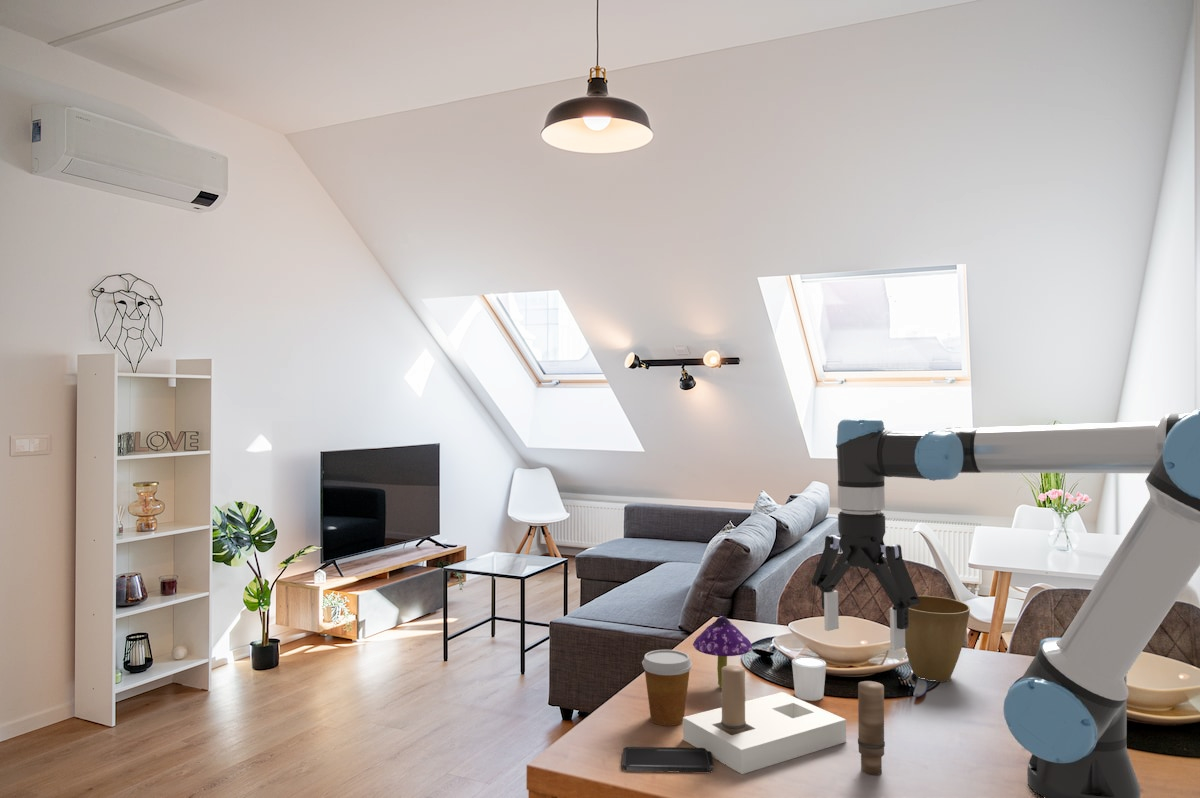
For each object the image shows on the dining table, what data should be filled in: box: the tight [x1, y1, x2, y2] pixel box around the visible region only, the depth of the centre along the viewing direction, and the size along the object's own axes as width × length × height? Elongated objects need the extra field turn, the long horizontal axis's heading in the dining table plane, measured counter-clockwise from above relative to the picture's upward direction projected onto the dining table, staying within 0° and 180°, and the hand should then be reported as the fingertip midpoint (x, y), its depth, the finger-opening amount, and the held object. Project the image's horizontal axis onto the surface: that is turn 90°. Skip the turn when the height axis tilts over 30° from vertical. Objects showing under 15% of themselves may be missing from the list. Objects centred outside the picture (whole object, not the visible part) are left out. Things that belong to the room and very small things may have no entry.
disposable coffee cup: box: [641, 649, 693, 727], centre depth 158 cm, size 10×10×12 cm
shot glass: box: [791, 656, 827, 702], centre depth 170 cm, size 7×7×7 cm
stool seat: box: [682, 665, 847, 775], centre depth 148 cm, size 16×24×14 cm, turn 121°
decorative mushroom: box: [692, 615, 753, 688], centre depth 175 cm, size 12×12×15 cm
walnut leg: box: [857, 680, 886, 776], centre depth 136 cm, size 4×4×14 cm
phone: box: [621, 746, 714, 773], centre depth 140 cm, size 8×1×15 cm
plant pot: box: [904, 595, 971, 683], centre depth 181 cm, size 15×15×16 cm
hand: (863, 638), depth 138 cm, fingers open, 13 cm apart
